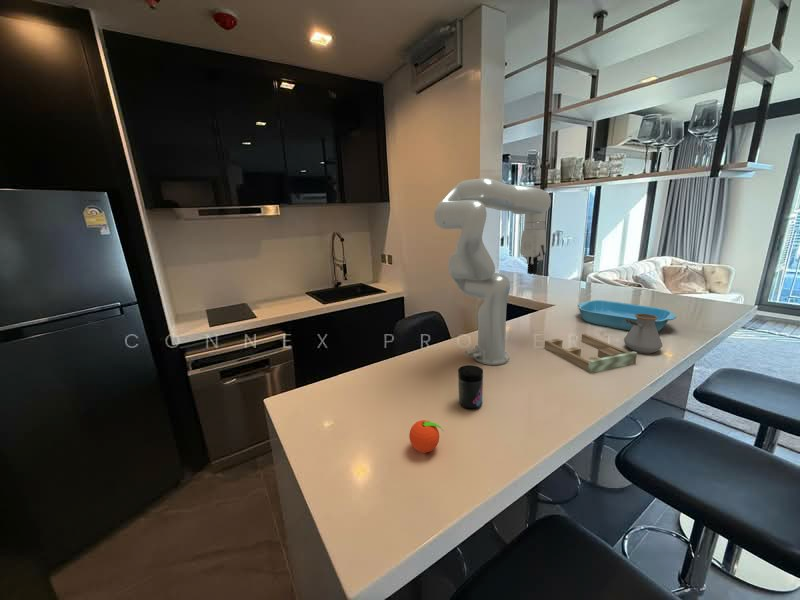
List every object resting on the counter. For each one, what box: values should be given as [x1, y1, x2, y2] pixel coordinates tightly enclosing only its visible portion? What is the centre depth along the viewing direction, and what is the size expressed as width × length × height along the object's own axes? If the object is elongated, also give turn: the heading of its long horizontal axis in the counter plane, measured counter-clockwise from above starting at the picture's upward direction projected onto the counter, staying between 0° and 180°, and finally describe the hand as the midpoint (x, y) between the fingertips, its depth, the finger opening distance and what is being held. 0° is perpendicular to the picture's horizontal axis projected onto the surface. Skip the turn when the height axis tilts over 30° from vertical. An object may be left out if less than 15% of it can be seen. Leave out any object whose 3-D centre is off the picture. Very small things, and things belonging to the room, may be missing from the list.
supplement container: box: [457, 364, 484, 411], centre depth 92 cm, size 7×7×10 cm
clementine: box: [408, 419, 444, 453], centre depth 76 cm, size 8×7×7 cm
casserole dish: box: [577, 299, 677, 332], centre depth 148 cm, size 37×22×7 cm, turn 41°
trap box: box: [544, 333, 638, 374], centre depth 119 cm, size 19×22×4 cm
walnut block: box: [597, 348, 623, 358], centre depth 113 cm, size 5×5×4 cm
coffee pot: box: [622, 314, 663, 354], centre depth 117 cm, size 21×12×15 cm, turn 122°
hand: (532, 273), depth 132 cm, fingers closed
